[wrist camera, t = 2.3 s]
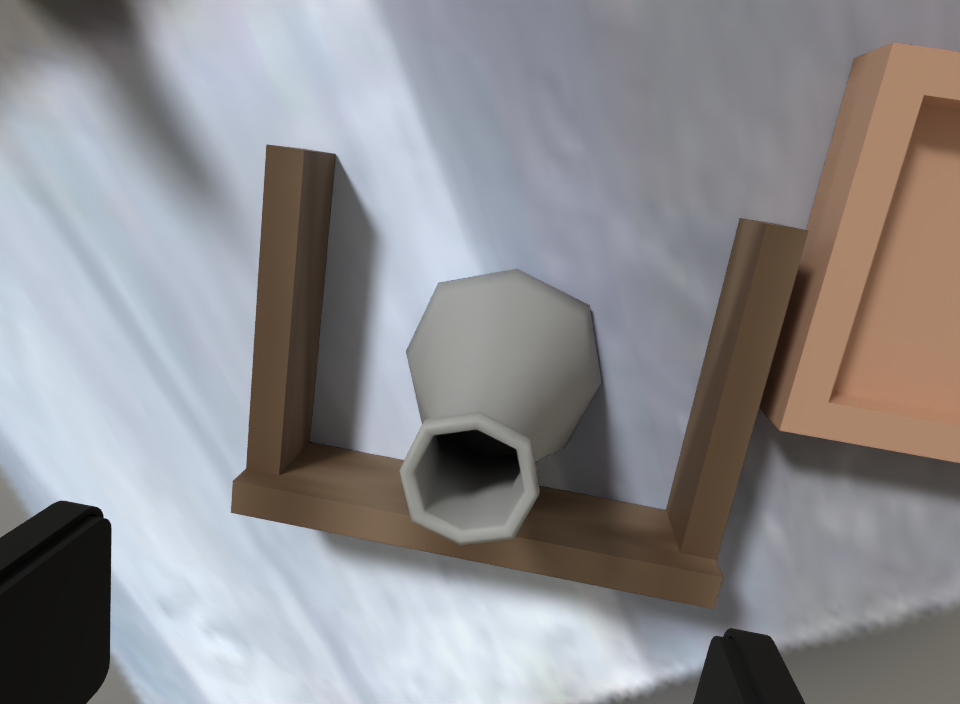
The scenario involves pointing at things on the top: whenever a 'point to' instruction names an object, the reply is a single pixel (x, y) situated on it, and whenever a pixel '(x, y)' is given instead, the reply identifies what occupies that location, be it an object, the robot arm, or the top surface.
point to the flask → (493, 400)
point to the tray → (881, 268)
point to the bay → (556, 513)
